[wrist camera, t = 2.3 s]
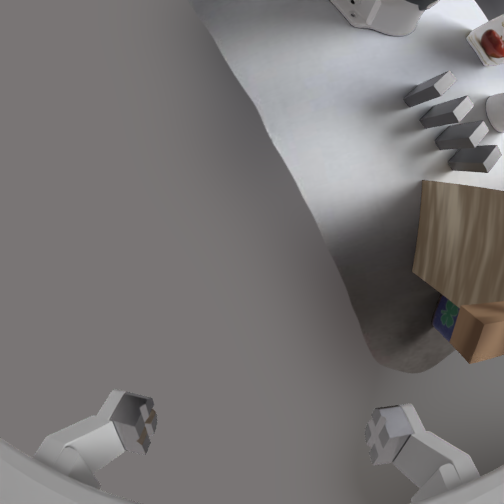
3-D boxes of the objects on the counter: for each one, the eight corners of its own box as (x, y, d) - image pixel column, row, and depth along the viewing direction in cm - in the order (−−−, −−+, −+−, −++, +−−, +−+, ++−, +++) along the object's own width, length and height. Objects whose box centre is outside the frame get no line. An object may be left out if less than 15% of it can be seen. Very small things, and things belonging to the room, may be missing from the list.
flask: (437, 326, 49) (464, 353, 38) (427, 324, 49) (454, 352, 38) (455, 284, 46) (486, 306, 36) (445, 281, 46) (476, 304, 36)
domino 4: (447, 162, 40) (483, 163, 31) (462, 146, 39) (496, 145, 30) (452, 170, 41) (488, 172, 31) (466, 154, 40) (501, 154, 30)
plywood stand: (412, 271, 46) (505, 347, 21) (422, 180, 42) (540, 198, 16) (466, 271, 45) (556, 330, 20) (477, 190, 41) (583, 214, 16)
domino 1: (402, 99, 38) (433, 85, 28) (418, 84, 37) (449, 70, 27) (409, 107, 38) (441, 95, 29) (425, 93, 37) (457, 80, 28)
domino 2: (419, 120, 39) (452, 111, 29) (434, 105, 38) (467, 95, 28) (425, 128, 39) (459, 122, 30) (440, 113, 38) (474, 105, 29)
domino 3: (434, 141, 40) (469, 137, 30) (449, 126, 39) (483, 120, 29) (440, 149, 40) (474, 148, 30) (454, 134, 39) (489, 130, 29)
